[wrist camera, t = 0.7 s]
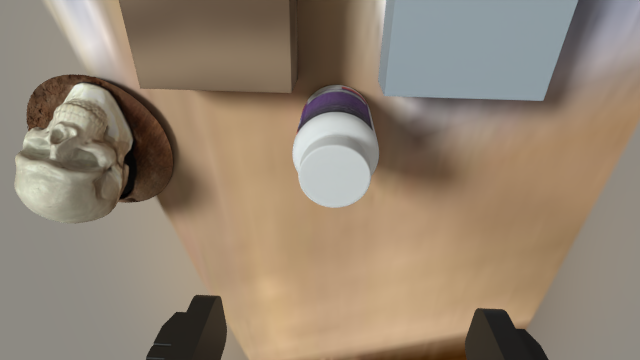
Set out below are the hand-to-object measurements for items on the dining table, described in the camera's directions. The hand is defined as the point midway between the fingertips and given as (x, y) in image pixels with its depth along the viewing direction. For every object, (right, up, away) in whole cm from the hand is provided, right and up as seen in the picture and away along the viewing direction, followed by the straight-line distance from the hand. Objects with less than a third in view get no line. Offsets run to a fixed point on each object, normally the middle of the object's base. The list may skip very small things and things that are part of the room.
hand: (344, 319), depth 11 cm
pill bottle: (+1, +9, +16) cm, 19 cm away
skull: (-19, +8, +19) cm, 28 cm away
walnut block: (-7, +17, +12) cm, 22 cm away
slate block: (+9, +16, +12) cm, 22 cm away
